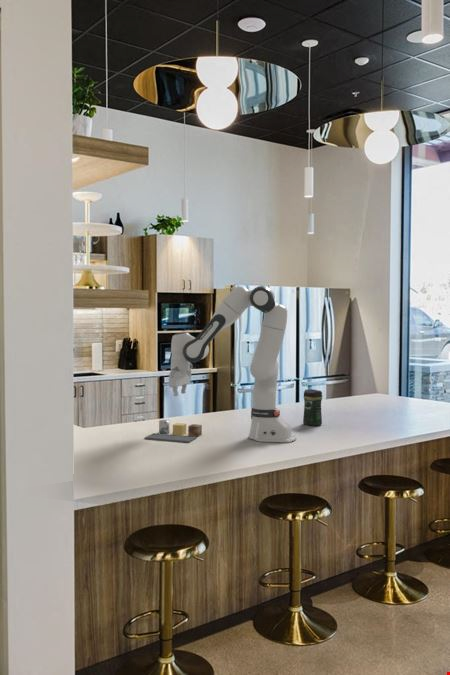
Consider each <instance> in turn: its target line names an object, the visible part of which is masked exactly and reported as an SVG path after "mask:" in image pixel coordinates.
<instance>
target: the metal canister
mask: <svg viewBox="0 0 450 675" xmlns="http://www.w3.org/2000/svg"><path fill="white" fill-rule="evenodd" d="M159 433H160V434H168V435H170V420H168V419H160V420H159V421H158V434H159Z"/></svg>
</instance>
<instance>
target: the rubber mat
mask: <svg viewBox="0 0 450 675" xmlns="http://www.w3.org/2000/svg"><path fill="white" fill-rule="evenodd" d="M197 438H198V437H193V436H188V435H183V436H180V435H173V434H159V433H154V432H153V433H151V434H149V435H147V436H145V437H144V440H150V441H151V440H152V441H161V442H174V443H184V444H185V443H186V444H189V443H191V442H193V441H194V440H196V439H197Z"/></svg>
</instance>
